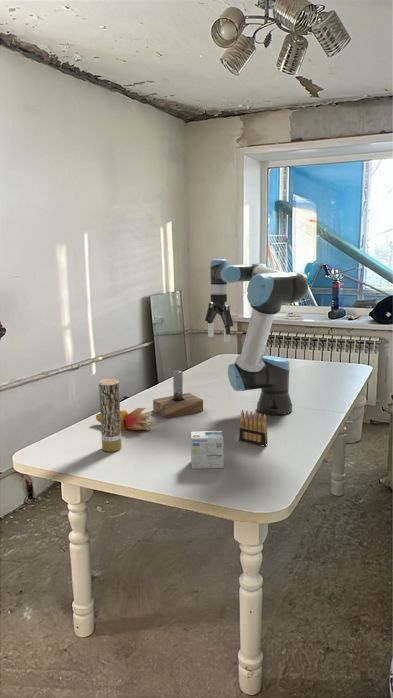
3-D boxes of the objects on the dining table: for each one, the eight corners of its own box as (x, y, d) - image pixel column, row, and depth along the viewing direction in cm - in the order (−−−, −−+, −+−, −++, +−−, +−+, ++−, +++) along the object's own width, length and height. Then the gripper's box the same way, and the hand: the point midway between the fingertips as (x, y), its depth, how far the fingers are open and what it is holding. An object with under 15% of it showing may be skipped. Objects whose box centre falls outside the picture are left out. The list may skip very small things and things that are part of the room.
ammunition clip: (238, 440, 194) (239, 409, 191) (241, 439, 195) (241, 408, 193) (265, 446, 188) (266, 414, 186) (267, 445, 190) (268, 413, 187)
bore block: (203, 410, 227) (203, 399, 226) (166, 418, 218) (165, 406, 217) (189, 403, 237) (189, 392, 236) (153, 410, 228) (153, 399, 227)
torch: (100, 432, 214) (156, 432, 205) (89, 429, 207) (147, 429, 198) (102, 412, 216) (157, 411, 207) (92, 408, 209) (148, 407, 200)
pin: (184, 407, 227) (184, 371, 223) (176, 409, 225) (175, 373, 221) (180, 405, 230) (179, 369, 226) (171, 406, 228) (171, 371, 224)
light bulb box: (222, 460, 177) (222, 429, 175) (224, 468, 171) (224, 437, 169) (190, 460, 177) (190, 430, 175) (191, 469, 171) (190, 438, 168)
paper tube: (112, 443, 192) (109, 377, 187) (125, 448, 188) (122, 380, 183) (98, 449, 187) (94, 381, 182) (111, 454, 183) (107, 385, 178)
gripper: (241, 295, 232) (240, 342, 236) (211, 290, 253) (211, 334, 257) (227, 296, 228) (226, 344, 233) (197, 291, 249) (198, 335, 254)
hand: (218, 339), depth 245 cm, fingers open, 13 cm apart
